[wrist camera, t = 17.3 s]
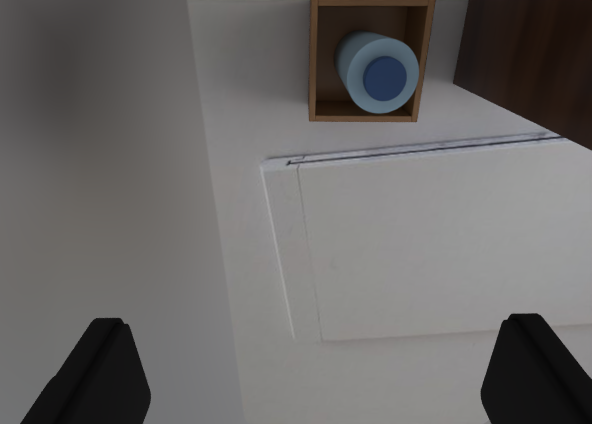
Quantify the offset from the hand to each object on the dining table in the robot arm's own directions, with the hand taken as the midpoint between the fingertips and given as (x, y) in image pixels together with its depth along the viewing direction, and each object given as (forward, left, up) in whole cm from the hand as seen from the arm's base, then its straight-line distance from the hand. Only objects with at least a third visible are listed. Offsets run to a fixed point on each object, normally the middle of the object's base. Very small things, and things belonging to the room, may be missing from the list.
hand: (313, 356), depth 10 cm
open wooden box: (+3, +5, -31) cm, 32 cm away
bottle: (+3, +5, -31) cm, 31 cm away
